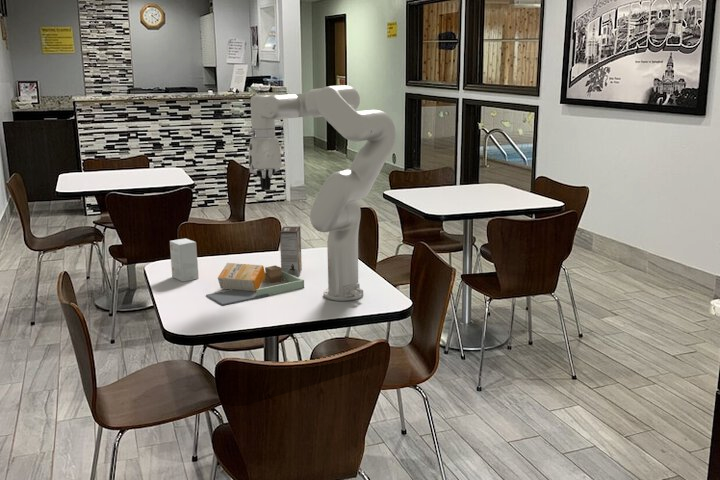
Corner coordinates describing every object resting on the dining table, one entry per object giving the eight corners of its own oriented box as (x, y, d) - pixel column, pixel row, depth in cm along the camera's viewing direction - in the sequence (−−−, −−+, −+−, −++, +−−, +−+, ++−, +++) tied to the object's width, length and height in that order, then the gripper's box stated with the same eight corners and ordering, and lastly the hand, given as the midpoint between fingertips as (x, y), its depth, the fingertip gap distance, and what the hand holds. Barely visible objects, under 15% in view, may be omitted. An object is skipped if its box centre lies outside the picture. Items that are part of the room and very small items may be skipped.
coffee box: (284, 270, 256) (282, 226, 252) (302, 269, 255) (300, 226, 252) (281, 277, 247) (279, 231, 243) (299, 277, 246) (298, 231, 243)
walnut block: (281, 282, 241) (281, 267, 240) (271, 284, 239) (271, 269, 238) (276, 279, 244) (275, 265, 243) (265, 281, 242) (265, 267, 241)
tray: (304, 287, 234) (303, 280, 234) (257, 297, 225) (257, 289, 224) (281, 277, 246) (280, 270, 246) (235, 286, 237) (235, 278, 236)
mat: (269, 295, 226) (268, 294, 226) (222, 305, 217) (222, 304, 217) (251, 287, 235) (251, 285, 235) (206, 296, 226) (206, 294, 226)
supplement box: (254, 280, 226) (216, 277, 230) (257, 291, 229) (220, 289, 232) (263, 264, 233) (226, 262, 236) (266, 275, 235) (229, 273, 239)
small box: (199, 278, 246) (196, 241, 243) (182, 282, 242) (179, 244, 239) (188, 273, 252) (186, 237, 249) (171, 277, 248) (168, 240, 245)
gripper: (248, 136, 225) (250, 193, 229) (289, 133, 234) (291, 188, 238) (237, 134, 231) (240, 190, 235) (277, 131, 240) (279, 186, 244)
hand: (265, 189), depth 237 cm, fingers closed
